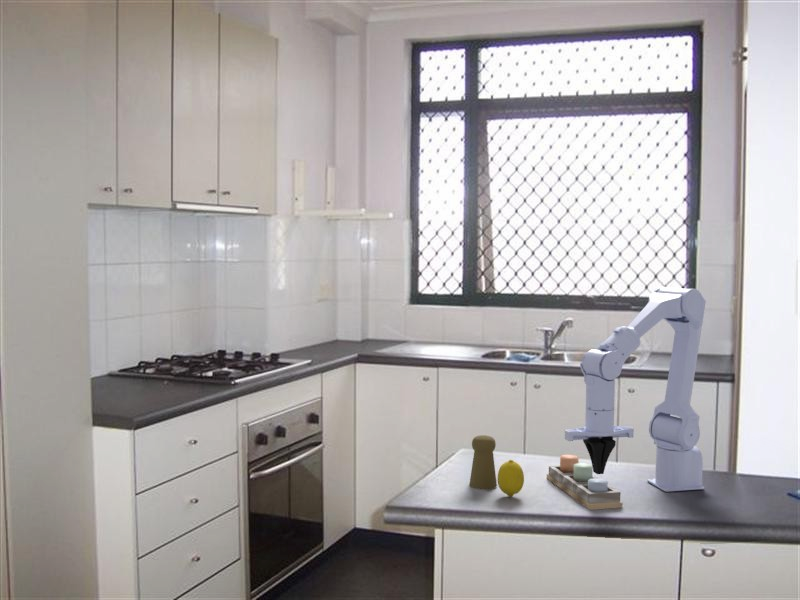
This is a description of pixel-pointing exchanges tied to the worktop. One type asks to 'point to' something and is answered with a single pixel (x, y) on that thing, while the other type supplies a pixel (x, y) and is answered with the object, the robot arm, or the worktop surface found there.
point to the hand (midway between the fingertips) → (598, 472)
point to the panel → (584, 490)
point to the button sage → (582, 472)
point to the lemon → (510, 478)
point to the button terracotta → (568, 463)
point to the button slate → (597, 485)
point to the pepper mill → (483, 463)
